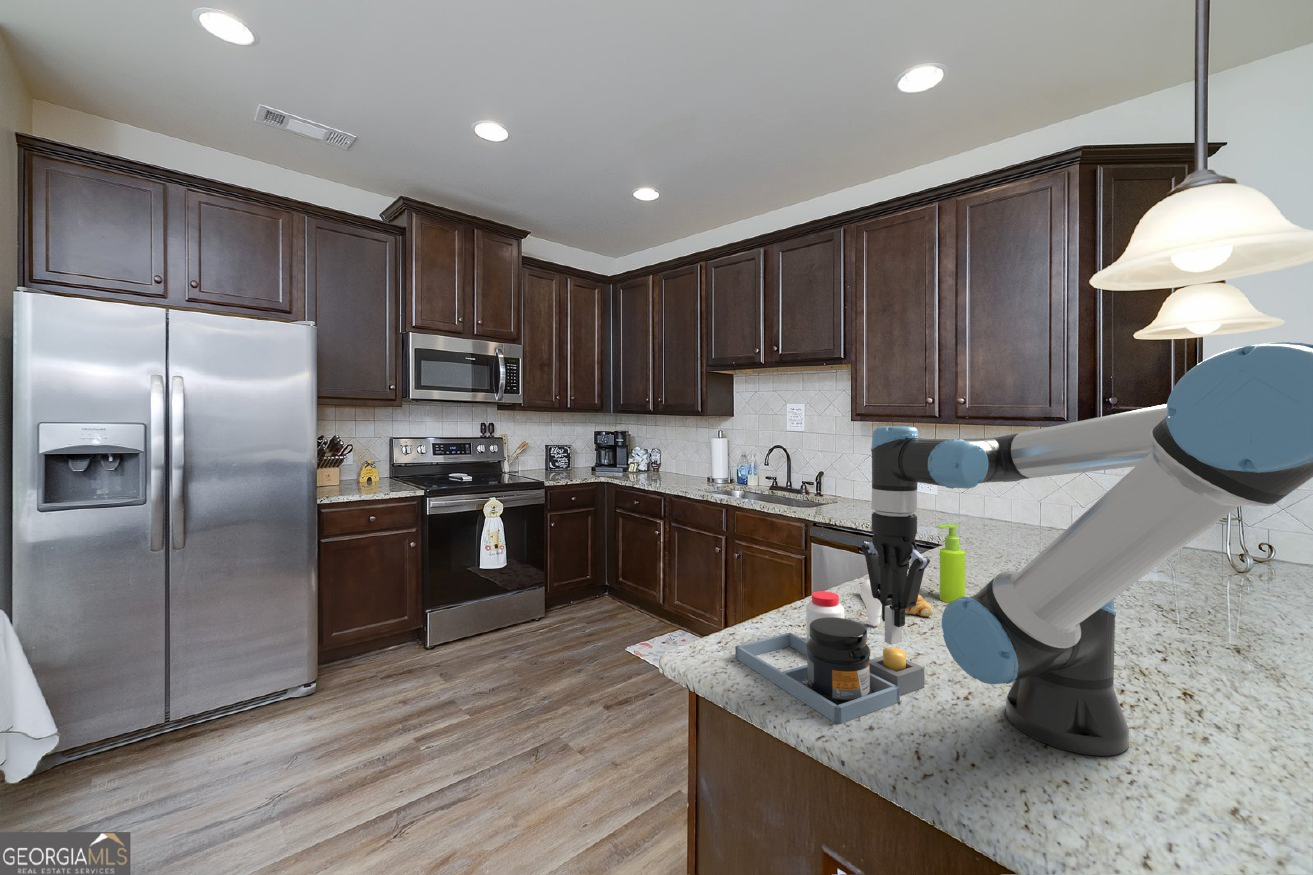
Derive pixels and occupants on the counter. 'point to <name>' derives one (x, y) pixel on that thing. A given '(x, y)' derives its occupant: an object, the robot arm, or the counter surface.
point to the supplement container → (838, 659)
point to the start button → (894, 659)
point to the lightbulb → (871, 604)
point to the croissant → (920, 608)
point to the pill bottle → (823, 608)
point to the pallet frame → (793, 678)
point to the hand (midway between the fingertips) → (893, 641)
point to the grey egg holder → (900, 675)
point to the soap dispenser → (952, 566)
